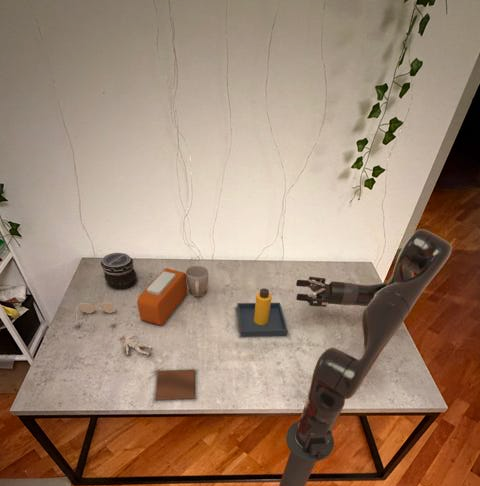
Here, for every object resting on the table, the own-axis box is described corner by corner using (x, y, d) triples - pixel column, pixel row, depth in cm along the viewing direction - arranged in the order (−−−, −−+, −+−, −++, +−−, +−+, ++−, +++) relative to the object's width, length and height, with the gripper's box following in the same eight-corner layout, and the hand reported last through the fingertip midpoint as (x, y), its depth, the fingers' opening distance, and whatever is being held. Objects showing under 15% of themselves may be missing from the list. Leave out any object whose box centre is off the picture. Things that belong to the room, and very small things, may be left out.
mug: (187, 286, 143) (186, 265, 135) (208, 286, 143) (208, 265, 136) (187, 303, 136) (185, 282, 128) (209, 303, 136) (208, 282, 129)
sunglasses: (118, 312, 130) (114, 302, 126) (116, 329, 126) (112, 319, 122) (80, 312, 129) (76, 303, 124) (77, 329, 125) (72, 320, 121)
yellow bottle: (269, 325, 129) (273, 295, 119) (254, 325, 129) (257, 295, 118) (267, 315, 132) (271, 286, 122) (253, 316, 132) (255, 286, 122)
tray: (286, 335, 127) (287, 330, 125) (241, 336, 125) (241, 331, 123) (279, 307, 137) (279, 302, 135) (237, 308, 135) (237, 303, 133)
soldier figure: (143, 363, 116) (111, 347, 114) (147, 362, 120) (116, 346, 119) (153, 343, 114) (120, 326, 113) (156, 343, 119) (125, 326, 118)
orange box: (169, 288, 141) (166, 263, 132) (188, 293, 140) (185, 267, 131) (141, 322, 127) (135, 296, 118) (160, 327, 126) (156, 301, 117)
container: (110, 272, 146) (104, 250, 138) (140, 274, 146) (135, 252, 139) (102, 289, 139) (95, 266, 131) (133, 291, 139) (128, 269, 131)
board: (194, 398, 106) (194, 397, 105) (156, 400, 105) (155, 398, 104) (194, 371, 113) (194, 369, 113) (158, 372, 112) (157, 370, 112)
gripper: (343, 272, 120) (298, 268, 120) (347, 296, 111) (298, 292, 112) (337, 291, 126) (294, 287, 126) (341, 315, 117) (295, 310, 118)
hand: (296, 289), depth 119 cm, fingers open, 8 cm apart
